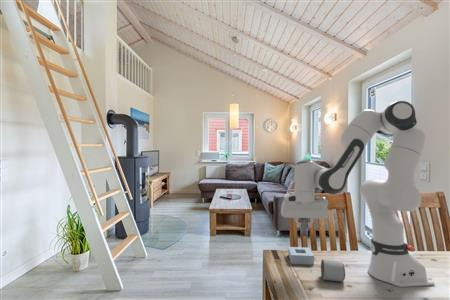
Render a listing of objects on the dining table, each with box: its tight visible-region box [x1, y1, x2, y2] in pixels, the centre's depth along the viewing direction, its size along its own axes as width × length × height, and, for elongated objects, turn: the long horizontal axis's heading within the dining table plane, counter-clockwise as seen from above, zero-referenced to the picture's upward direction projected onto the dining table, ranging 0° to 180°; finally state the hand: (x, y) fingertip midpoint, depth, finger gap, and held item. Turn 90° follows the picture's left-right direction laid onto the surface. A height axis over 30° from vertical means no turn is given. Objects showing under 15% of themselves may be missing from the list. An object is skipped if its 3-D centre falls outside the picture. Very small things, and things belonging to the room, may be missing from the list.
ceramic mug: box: [320, 258, 346, 282], centre depth 106 cm, size 11×8×8 cm
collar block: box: [287, 246, 315, 266], centre depth 124 cm, size 10×10×4 cm
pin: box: [300, 218, 309, 237], centre depth 117 cm, size 3×3×8 cm
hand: (304, 227), depth 117 cm, fingers closed on pin, 3 cm apart
